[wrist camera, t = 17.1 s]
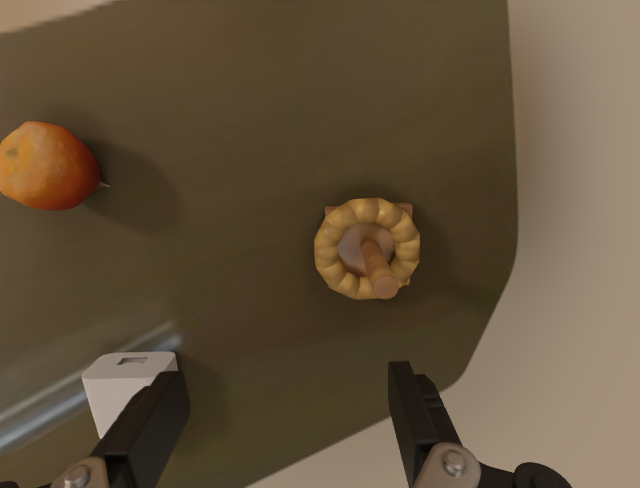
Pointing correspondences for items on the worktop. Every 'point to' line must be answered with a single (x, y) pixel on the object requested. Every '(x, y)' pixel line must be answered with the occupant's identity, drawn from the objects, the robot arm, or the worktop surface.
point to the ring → (349, 217)
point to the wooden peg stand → (371, 253)
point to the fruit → (47, 167)
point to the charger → (121, 381)
